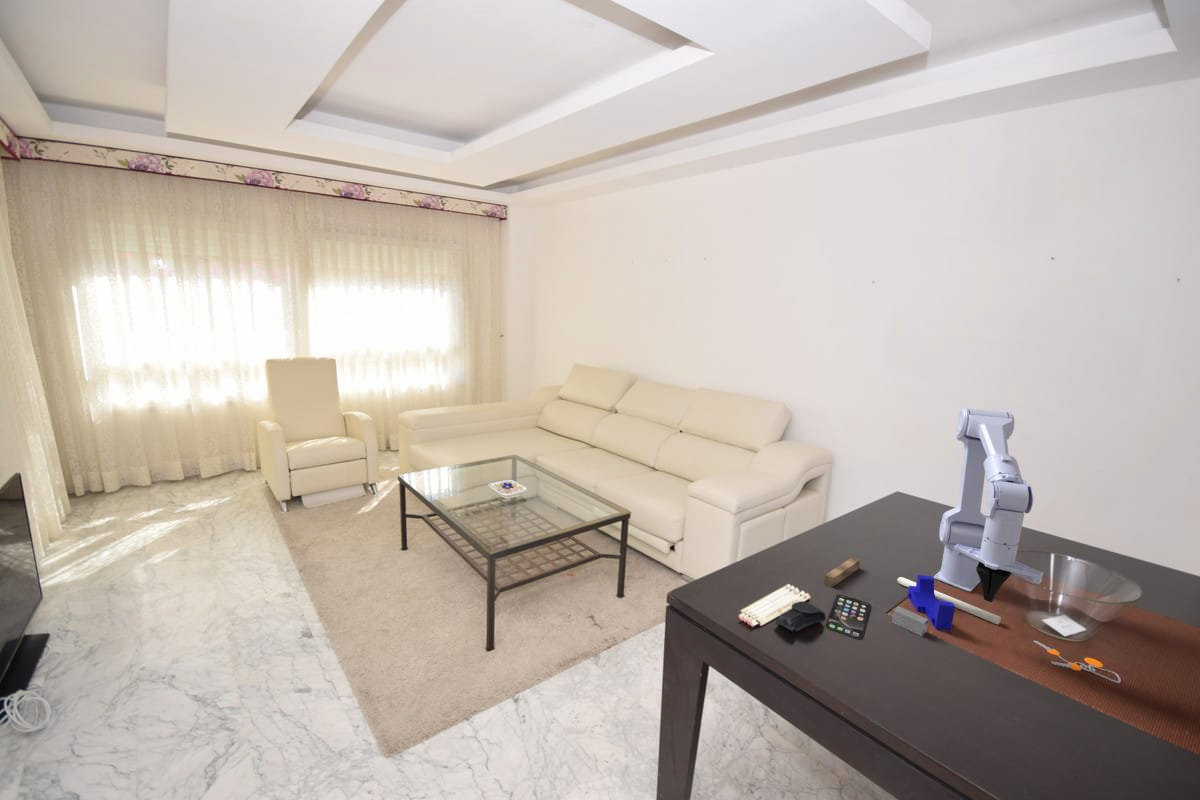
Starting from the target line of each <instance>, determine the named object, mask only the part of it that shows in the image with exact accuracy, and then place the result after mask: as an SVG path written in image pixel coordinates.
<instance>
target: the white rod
mask: <svg viewBox="0 0 1200 800" xmlns="http://www.w3.org/2000/svg"><path fill="white" fill-rule="evenodd" d="M897 582H898V584H900V585H902V587H906V588H908V589H909V586H916V583H917V581H913V580H910V579H908V578H905V577H903V576H900V577H899V576H898V578H897ZM934 593H935V598H936V601H943V602H952V603H953V604H954V606H955V609H956V608H957V609H960V610H961V611H964V612H966V613H970V614H971V615H972V616H973V615H974V616H976V617H978V618H980V619H983V620H985V621H989V623H990V622H991V623H993V624H995V625H998V626H999V625H1000V623H1001V620H1002V616H999V615H997V614H994V613H992V612H989V611H987V610H985V609H982V608H980V607H977V606H975V605H973V604H969V603H967V602H964V600H963V601H962V600H960V599H957V598H954V597H952V596H950V595H947V594H945V593H942V592H940V591H938V590H935V589H934Z"/></svg>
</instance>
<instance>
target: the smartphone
mask: <svg viewBox="0 0 1200 800" xmlns="http://www.w3.org/2000/svg"><path fill="white" fill-rule="evenodd" d="M870 611H871V603H868V602H866V601H863V600H859V599H856V598H854V597H849V596H846V595H844V594H836V596H835V599H834V601H833V603H832V606H831V608H830V611H829V613H828V617H827V620H826V622H825V624H824V625H825V626H824V627H825V629H827V630H829V629H830V630H829V631H831V630H832V632H834V631H835V632H834V633H837V632H838V634H840V635H844V636H846V637H850V638H852V639H855V640H859V641H861V640H863V638H864V634H865V629H866V627H867V622H868V618H869V616H870ZM830 623H832V624H830Z"/></svg>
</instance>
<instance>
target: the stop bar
mask: <svg viewBox="0 0 1200 800" xmlns="http://www.w3.org/2000/svg"><path fill="white" fill-rule="evenodd" d="M860 563H861V560H860V559H858V558H856V557H852V556H851V557H849V559H847V560H845V561H844V562H843V563H841V564H840V565H838V566H836V567H835V568H833V569H831V570H830V571H829V572H827V573H826V574H825V575H824V582H823V584H825V585H826V586H828V587H830V588H833V587H835V586H836V585H837V584H839V583H840V582H842V581H843V580H844V579H846V578H847V577H849V576H850V575H852V574H853V573H855V572H856V571H857V570H859V567H860Z"/></svg>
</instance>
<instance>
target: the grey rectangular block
mask: <svg viewBox="0 0 1200 800" xmlns="http://www.w3.org/2000/svg"><path fill="white" fill-rule="evenodd" d="M891 623H892V624H895V625H896V626H899V627H901V628H903V629H905V630H908V631H909V632H912V633H914V634H916V635H918V636H920V637H923V636H924V635H925V634H926V633H927V631H928V630H927V628H928V623H929V618H927V617H923V616H922V615H919V614H917V613H914V612H912V611H910V610H908V609H906V608H904V607H901V606H899V605H898V606H896V608H895V609H893V612H892V618H891Z"/></svg>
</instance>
